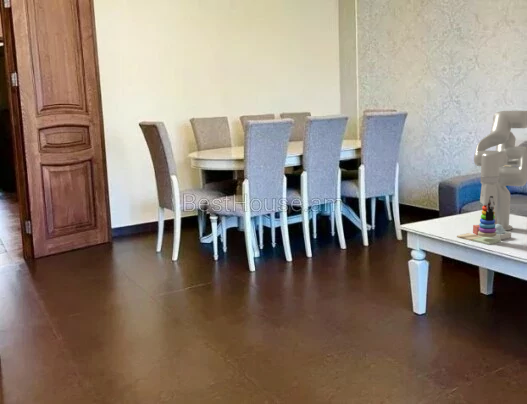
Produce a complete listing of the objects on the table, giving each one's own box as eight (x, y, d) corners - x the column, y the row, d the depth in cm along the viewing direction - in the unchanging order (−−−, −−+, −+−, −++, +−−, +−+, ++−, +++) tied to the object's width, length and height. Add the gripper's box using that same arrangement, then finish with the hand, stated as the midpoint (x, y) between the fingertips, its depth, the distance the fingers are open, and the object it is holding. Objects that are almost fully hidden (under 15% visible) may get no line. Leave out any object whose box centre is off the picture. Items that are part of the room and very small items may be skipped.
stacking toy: (474, 235, 253) (474, 195, 250) (485, 232, 257) (486, 193, 253) (488, 238, 246) (489, 197, 243) (500, 235, 250) (501, 195, 247)
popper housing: (483, 237, 259) (484, 231, 259) (494, 234, 264) (495, 229, 263) (499, 240, 252) (500, 235, 252) (511, 237, 257) (511, 232, 256)
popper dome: (488, 234, 259) (488, 223, 258) (495, 232, 262) (496, 222, 261) (499, 237, 254) (499, 226, 253) (507, 235, 257) (507, 224, 256)
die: (472, 232, 268) (473, 224, 267) (480, 232, 268) (481, 223, 267) (476, 234, 264) (477, 226, 263) (484, 234, 264) (485, 225, 263)
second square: (472, 241, 253) (472, 239, 253) (484, 238, 257) (484, 236, 257) (488, 244, 246) (488, 243, 246) (500, 241, 250) (500, 240, 250)
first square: (456, 237, 260) (456, 235, 260) (468, 234, 265) (468, 233, 265) (471, 240, 253) (472, 239, 253) (483, 238, 258) (483, 236, 258)
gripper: (476, 177, 255) (475, 214, 259) (485, 182, 239) (483, 222, 242) (493, 177, 254) (491, 214, 257) (503, 182, 237) (501, 223, 241)
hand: (487, 218), depth 250 cm, fingers closed on stacking toy, 5 cm apart
